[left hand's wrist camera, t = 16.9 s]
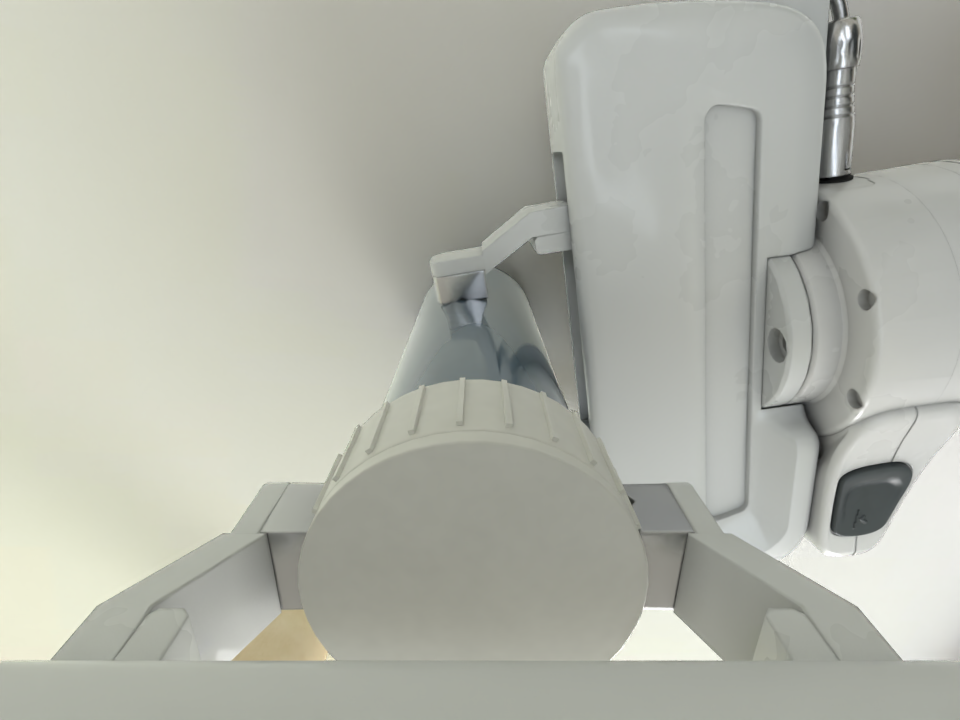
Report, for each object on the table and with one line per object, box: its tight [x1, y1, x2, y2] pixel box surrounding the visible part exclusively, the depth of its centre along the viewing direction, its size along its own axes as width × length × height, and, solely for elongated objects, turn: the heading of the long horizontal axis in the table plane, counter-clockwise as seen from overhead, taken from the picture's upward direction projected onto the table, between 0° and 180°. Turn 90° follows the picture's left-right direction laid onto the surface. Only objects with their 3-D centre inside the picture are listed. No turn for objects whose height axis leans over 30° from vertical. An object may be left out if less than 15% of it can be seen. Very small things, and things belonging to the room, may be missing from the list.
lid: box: [298, 377, 648, 661], centre depth 10 cm, size 6×6×2 cm
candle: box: [231, 609, 328, 661], centre depth 26 cm, size 6×6×10 cm
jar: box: [384, 268, 568, 409], centre depth 17 cm, size 5×5×16 cm
